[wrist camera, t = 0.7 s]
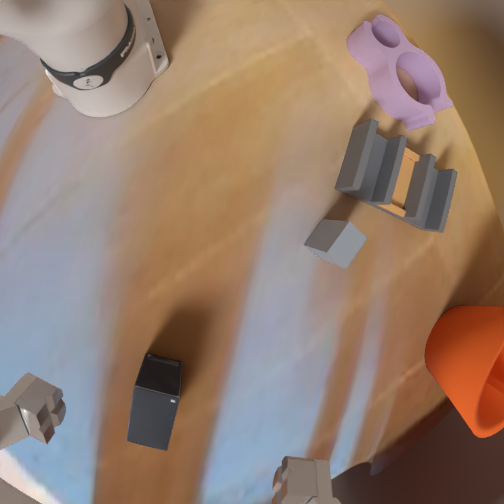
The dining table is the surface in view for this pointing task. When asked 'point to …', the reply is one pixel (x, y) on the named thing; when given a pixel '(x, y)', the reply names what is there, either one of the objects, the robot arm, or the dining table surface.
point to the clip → (385, 77)
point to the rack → (396, 178)
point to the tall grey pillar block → (336, 242)
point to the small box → (155, 402)
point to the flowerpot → (471, 364)
